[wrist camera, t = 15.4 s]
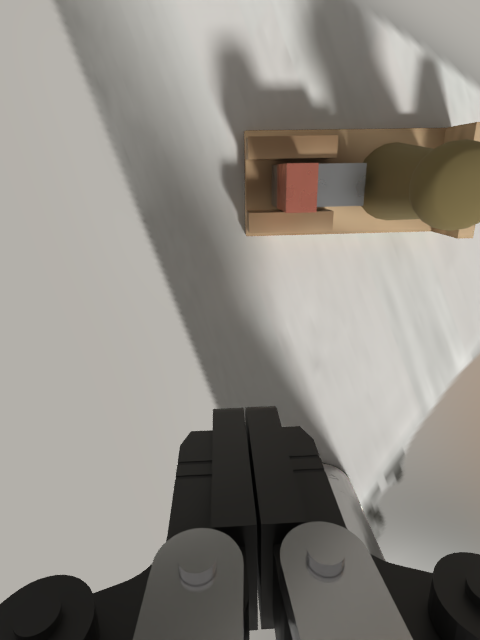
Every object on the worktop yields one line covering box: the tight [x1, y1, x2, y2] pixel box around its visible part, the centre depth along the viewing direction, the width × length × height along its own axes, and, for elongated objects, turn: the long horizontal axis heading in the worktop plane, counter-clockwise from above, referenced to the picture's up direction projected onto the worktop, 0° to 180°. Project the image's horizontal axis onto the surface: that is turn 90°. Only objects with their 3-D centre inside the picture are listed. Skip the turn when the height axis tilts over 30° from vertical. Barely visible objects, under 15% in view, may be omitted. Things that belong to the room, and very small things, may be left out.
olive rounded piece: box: [362, 139, 480, 231], centre depth 28 cm, size 6×6×11 cm
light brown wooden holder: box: [244, 122, 480, 238], centre depth 32 cm, size 8×17×5 cm, turn 91°
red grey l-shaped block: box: [271, 163, 367, 213], centre depth 29 cm, size 3×6×7 cm, turn 91°
